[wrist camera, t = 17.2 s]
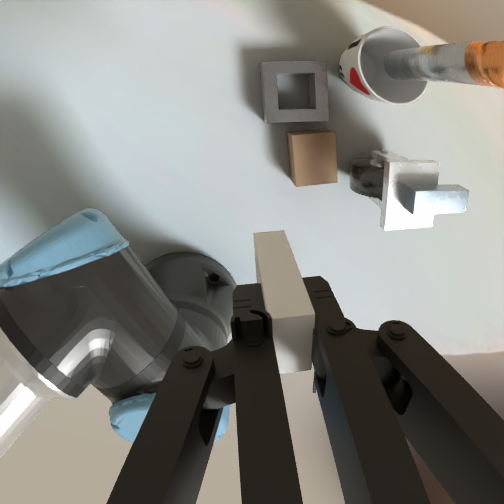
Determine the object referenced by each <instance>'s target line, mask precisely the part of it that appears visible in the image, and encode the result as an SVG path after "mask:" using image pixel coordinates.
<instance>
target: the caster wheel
mask: <svg viewBox="0 0 504 504" xmlns="http://www.w3.org/2000/svg"><path fill="white" fill-rule="evenodd" d="M438 174H439V163H438V162H436V161H434V160H408V159H406V158H404V157H402V156H400V155H397V154H395V153H393V152H391V151H387V150H380V151H371V157H367V158H357V159H354V160H352V161H351V162H350V188H351V189H352V190H353V191H354V192H356V193H359V194H361V195H365V196H368V197H369V198H370V199H371V200H372V201H374V202H375V203H376V204H377V205H378V206H379V207H381V219H380V226H381V227H382V228H383V229H384V230H396V229H408V228H420V227H432V222H433V216H434V214H446V213H464V212H466V208H467V202H468V195H469V190H467V189H465V188H463V187H462V186H460V185H437V184H438Z"/></svg>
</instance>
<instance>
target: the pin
mask: <svg viewBox="0 0 504 504" xmlns="http://www.w3.org/2000/svg"><path fill="white" fill-rule="evenodd" d="M384 68H385V70H386V72H387V74H388V75H389V76H390V77H391V78H393V79H395V80H415V81H437V82H452V83H464V84H474V85H482V86H490V87H498V88H504V41H491V42H490V41H488V42H467V43H453V44H442V45H432V46H424V47H416V48H409V49H402V50H396V51H391V52H389V53H388V54H387V55H386V56H385V58H384Z"/></svg>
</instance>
